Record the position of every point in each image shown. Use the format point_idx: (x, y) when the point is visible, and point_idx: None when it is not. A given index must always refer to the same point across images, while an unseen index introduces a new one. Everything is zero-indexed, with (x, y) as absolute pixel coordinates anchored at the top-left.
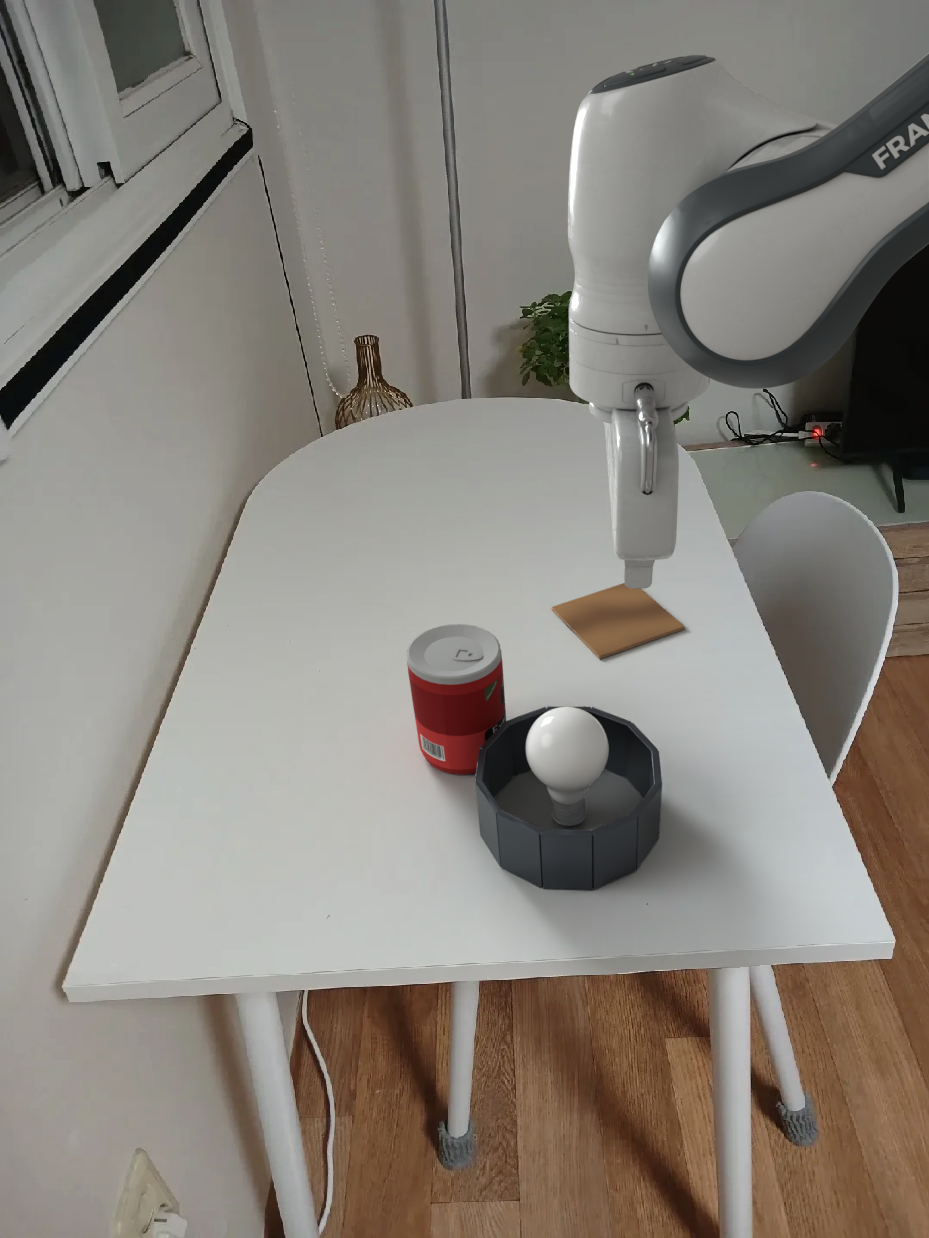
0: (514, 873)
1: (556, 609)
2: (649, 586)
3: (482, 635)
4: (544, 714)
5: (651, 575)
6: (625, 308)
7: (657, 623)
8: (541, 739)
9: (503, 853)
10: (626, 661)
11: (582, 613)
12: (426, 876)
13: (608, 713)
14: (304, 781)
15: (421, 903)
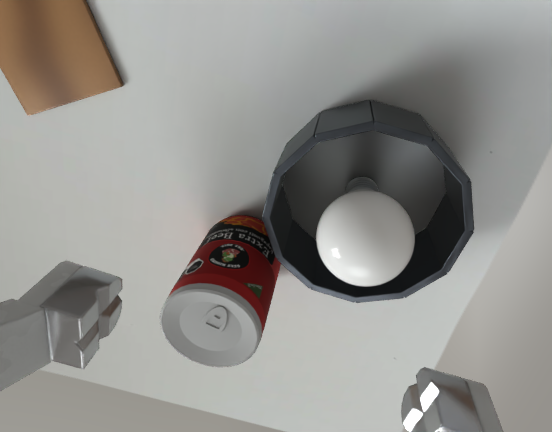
0: None
1: (32, 111)
2: (481, 383)
3: (184, 299)
4: (339, 275)
5: (494, 413)
6: None
7: None
8: (376, 285)
9: None
10: (128, 53)
11: (38, 82)
12: (383, 301)
13: (291, 157)
14: (259, 351)
15: (408, 309)
